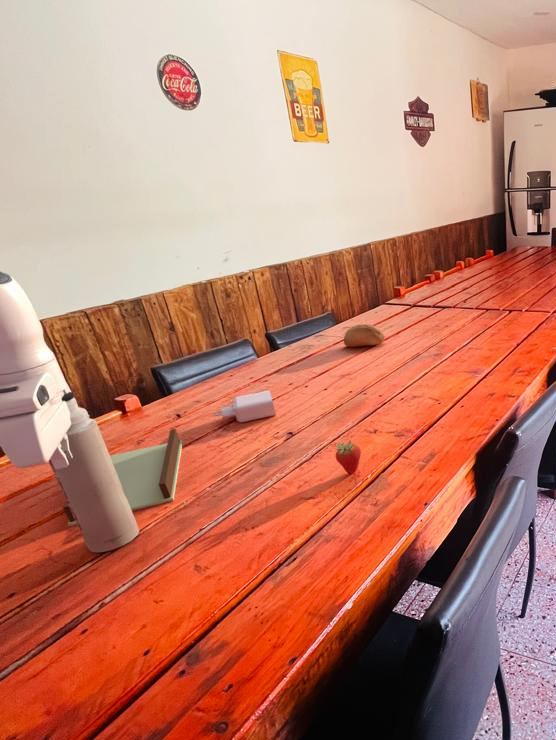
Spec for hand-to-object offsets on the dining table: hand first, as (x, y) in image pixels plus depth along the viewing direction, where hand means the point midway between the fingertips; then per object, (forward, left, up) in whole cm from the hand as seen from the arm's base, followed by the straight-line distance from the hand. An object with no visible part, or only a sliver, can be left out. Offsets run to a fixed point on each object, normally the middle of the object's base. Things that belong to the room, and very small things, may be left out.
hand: (64, 464), depth 81 cm
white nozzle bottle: (+24, +50, -19) cm, 59 cm away
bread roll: (+67, +94, -19) cm, 117 cm away
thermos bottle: (0, +5, -19) cm, 20 cm away
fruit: (+44, +7, -19) cm, 49 cm away
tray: (0, +28, -19) cm, 34 cm away
